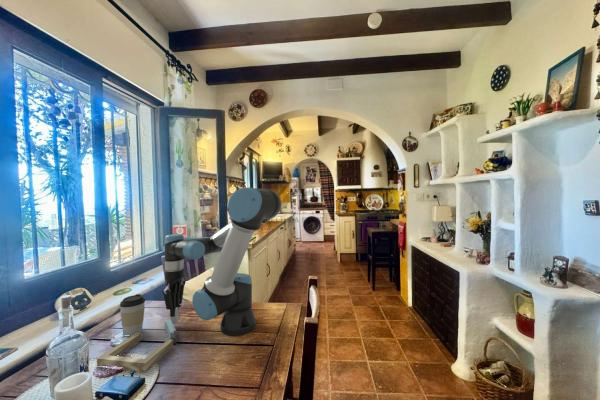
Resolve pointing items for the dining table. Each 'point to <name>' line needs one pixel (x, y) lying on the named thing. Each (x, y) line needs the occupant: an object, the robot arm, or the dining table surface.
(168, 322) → the leg
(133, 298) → the coffee cup
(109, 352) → the frame
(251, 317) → the robot arm
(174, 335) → the pin
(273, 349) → the dining table surface
